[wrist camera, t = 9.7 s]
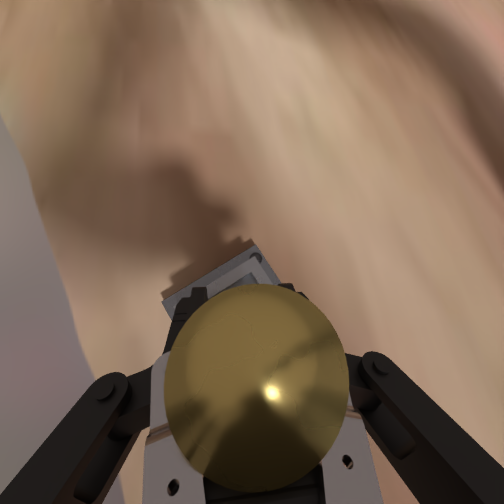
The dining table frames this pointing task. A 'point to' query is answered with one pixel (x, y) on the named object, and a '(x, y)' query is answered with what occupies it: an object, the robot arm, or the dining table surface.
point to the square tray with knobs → (229, 277)
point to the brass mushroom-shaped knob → (256, 388)
